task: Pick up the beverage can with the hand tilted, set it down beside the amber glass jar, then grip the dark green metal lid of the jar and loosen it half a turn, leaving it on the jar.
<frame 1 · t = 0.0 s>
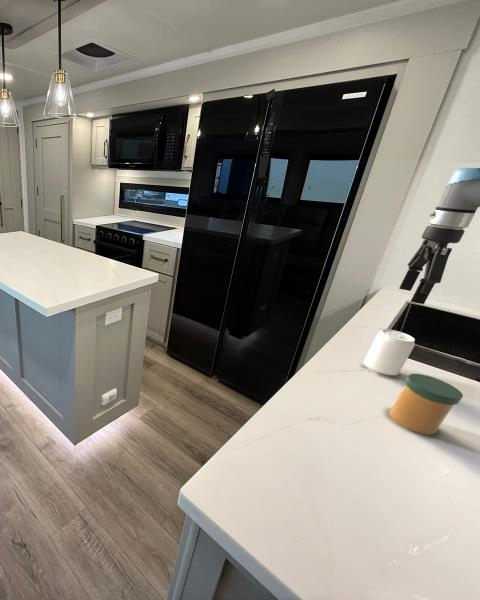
hand: (410, 296, 96), 21 cm above the countertop, tool pointing down, fingers open, 13 cm apart
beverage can: (379, 369, 95), on the countertop
jar: (411, 421, 75), on the countertop
jar lid: (433, 386, 71), point 11 cm above the countertop, screwed on, not yet turned
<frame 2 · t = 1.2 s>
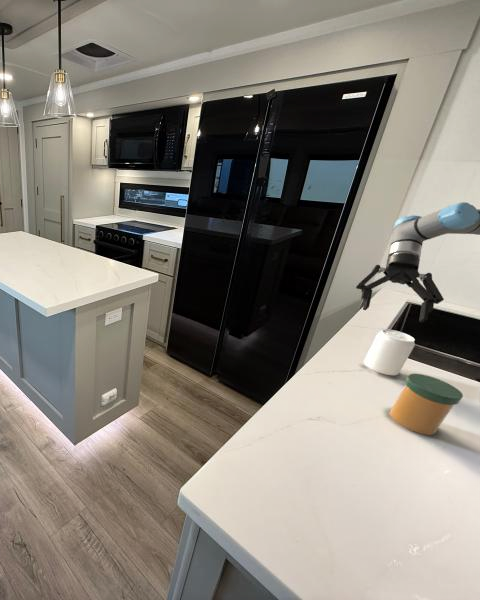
hand: (393, 314, 97), 15 cm above the countertop, tool tilted 45°, fingers open, 13 cm apart
nothing on the countertop moved.
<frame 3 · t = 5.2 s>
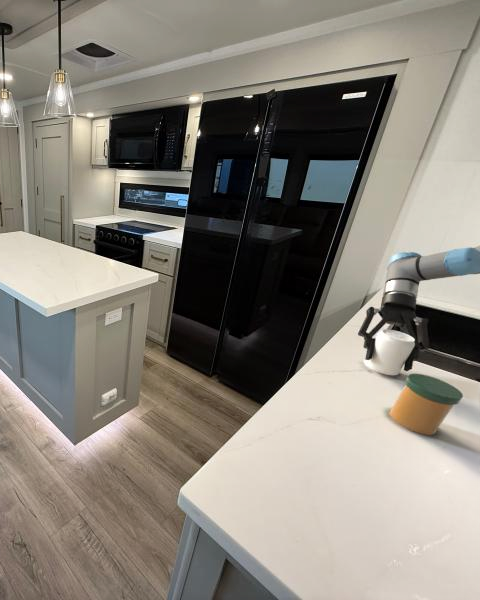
hand: (387, 364, 91), 4 cm above the countertop, tool tilted 45°, fingers closed on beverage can, 8 cm apart
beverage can: (379, 369, 95), on the countertop, touching gripper
everything else where it was.
when the fingers open (4 cm above the countertop, at t = 13.1 s): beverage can stays where it is, on the countertop.
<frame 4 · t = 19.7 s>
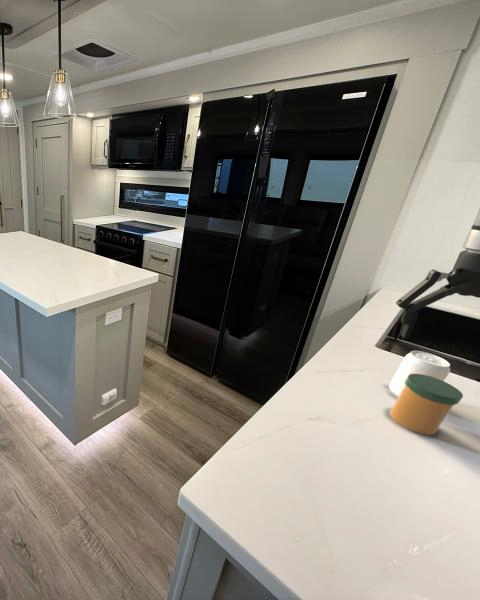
hand: (445, 345, 70), 20 cm above the countertop, tool pointing down, fingers open, 13 cm apart
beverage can: (407, 395, 84), on the countertop
everything else where it was.
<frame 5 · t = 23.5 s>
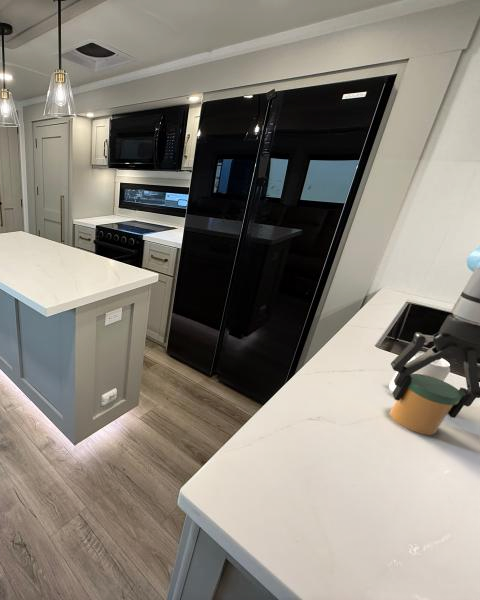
hand: (422, 405, 73), 5 cm above the countertop, tool pointing down, fingers closed on jar lid, 9 cm apart
jar lid: (433, 386, 71), point 11 cm above the countertop, screwed on, not yet turned, touching gripper
everything else where it was.
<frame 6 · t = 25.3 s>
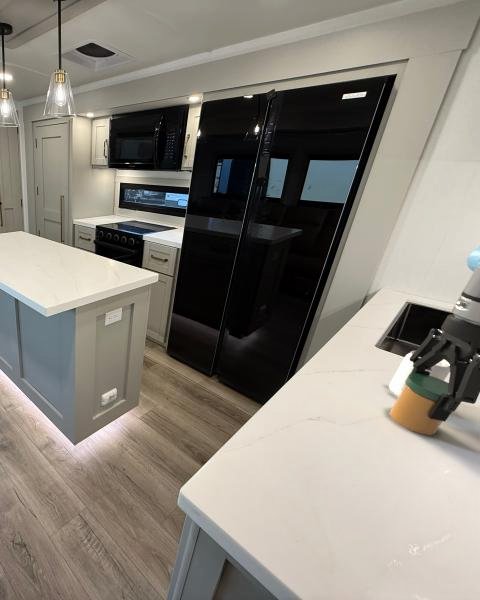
hand: (422, 404, 73), 5 cm above the countertop, tool pointing down, fingers closed on jar lid, 9 cm apart
jar lid: (433, 386, 70), point 11 cm above the countertop, turned 106° so far, risen 0.1 cm, still on its thread, touching gripper
everything else where it was.
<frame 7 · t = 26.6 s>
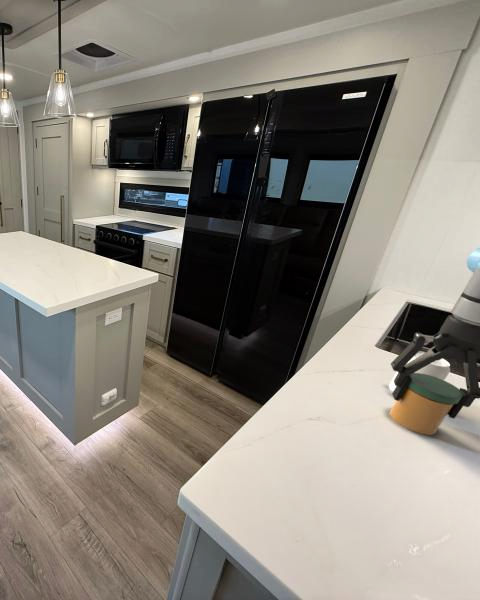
hand: (421, 405, 73), 5 cm above the countertop, tool pointing down, fingers closed on jar lid, 9 cm apart
jar lid: (434, 386, 70), point 11 cm above the countertop, turned 179° so far, risen 0.2 cm, still on its thread, touching gripper
everything else where it was.
when the fingers open (5 cm above the countertop, at t = 26.8 s): jar lid stays where it is, point 11 cm above the countertop.
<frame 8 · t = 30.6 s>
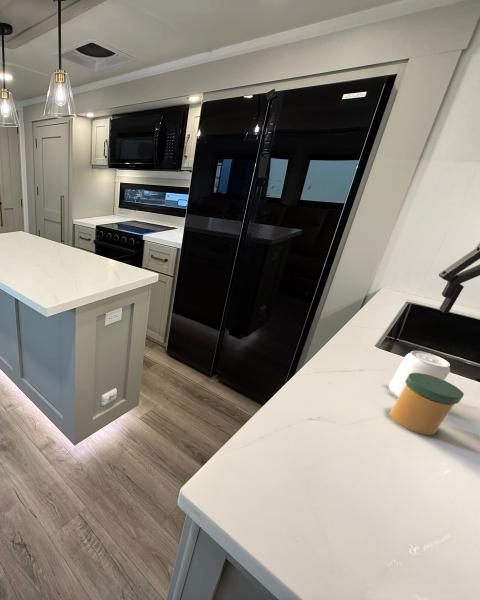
jar lid: (434, 385, 70), point 11 cm above the countertop, turned 179° so far, risen 0.2 cm, still on its thread
everything else where it was.
at the end: jar lid turned 0.50 turns (still on its thread); jar lid is still on its thread (0.50 turns); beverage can inside the target area on the countertop beside the jar (0.1 cm from its centre), on the countertop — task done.
